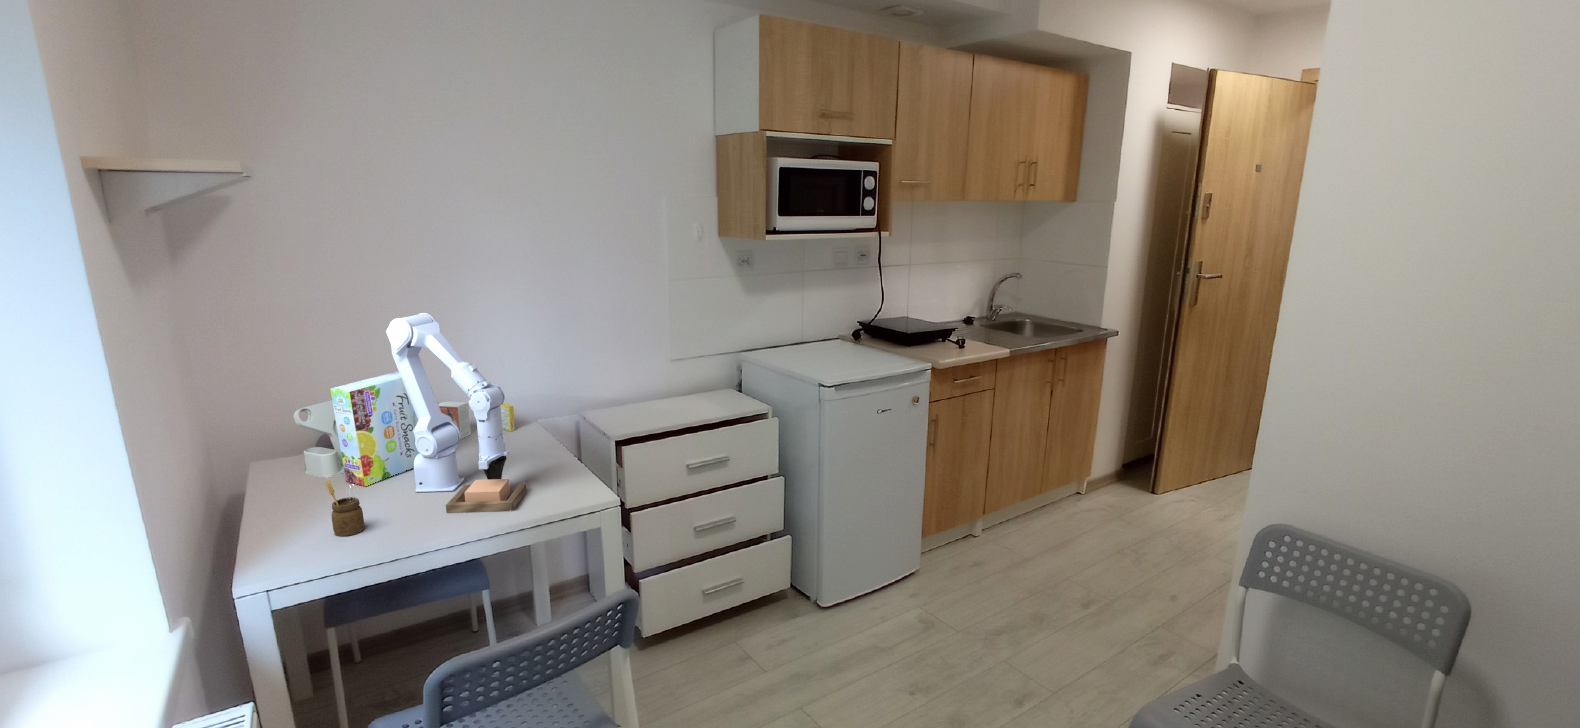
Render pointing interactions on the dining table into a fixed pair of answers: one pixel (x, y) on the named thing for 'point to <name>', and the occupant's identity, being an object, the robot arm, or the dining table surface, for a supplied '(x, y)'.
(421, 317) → the robot arm
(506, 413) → the candy box
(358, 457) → the snack box
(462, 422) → the small box
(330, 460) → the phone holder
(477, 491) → the carton
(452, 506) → the brown u-shaped wooden frame
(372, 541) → the dining table surface
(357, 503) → the utensil holder
